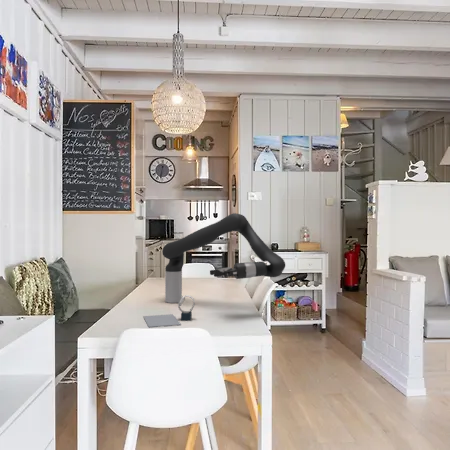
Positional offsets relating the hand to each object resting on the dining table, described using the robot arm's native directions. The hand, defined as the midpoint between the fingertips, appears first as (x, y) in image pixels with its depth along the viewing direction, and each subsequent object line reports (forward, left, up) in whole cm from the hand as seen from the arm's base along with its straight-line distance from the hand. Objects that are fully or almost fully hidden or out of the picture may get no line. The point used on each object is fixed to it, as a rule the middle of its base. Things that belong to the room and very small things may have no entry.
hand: (212, 273), depth 193 cm
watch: (0, -12, -21) cm, 24 cm away
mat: (0, -24, -21) cm, 32 cm away
